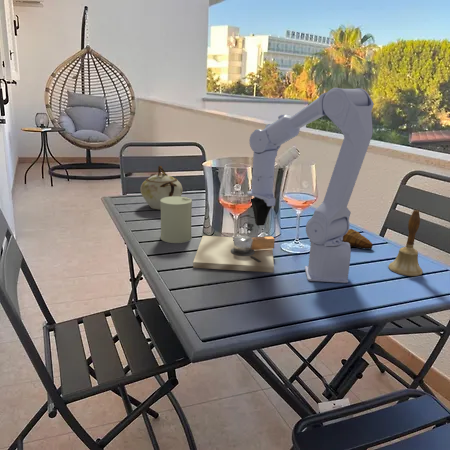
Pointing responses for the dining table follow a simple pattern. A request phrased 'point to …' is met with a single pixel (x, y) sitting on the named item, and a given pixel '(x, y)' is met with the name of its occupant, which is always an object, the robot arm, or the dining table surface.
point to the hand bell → (408, 251)
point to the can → (176, 219)
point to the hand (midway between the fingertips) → (260, 224)
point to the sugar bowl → (160, 188)
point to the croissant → (357, 240)
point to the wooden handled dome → (252, 244)
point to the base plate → (231, 256)
